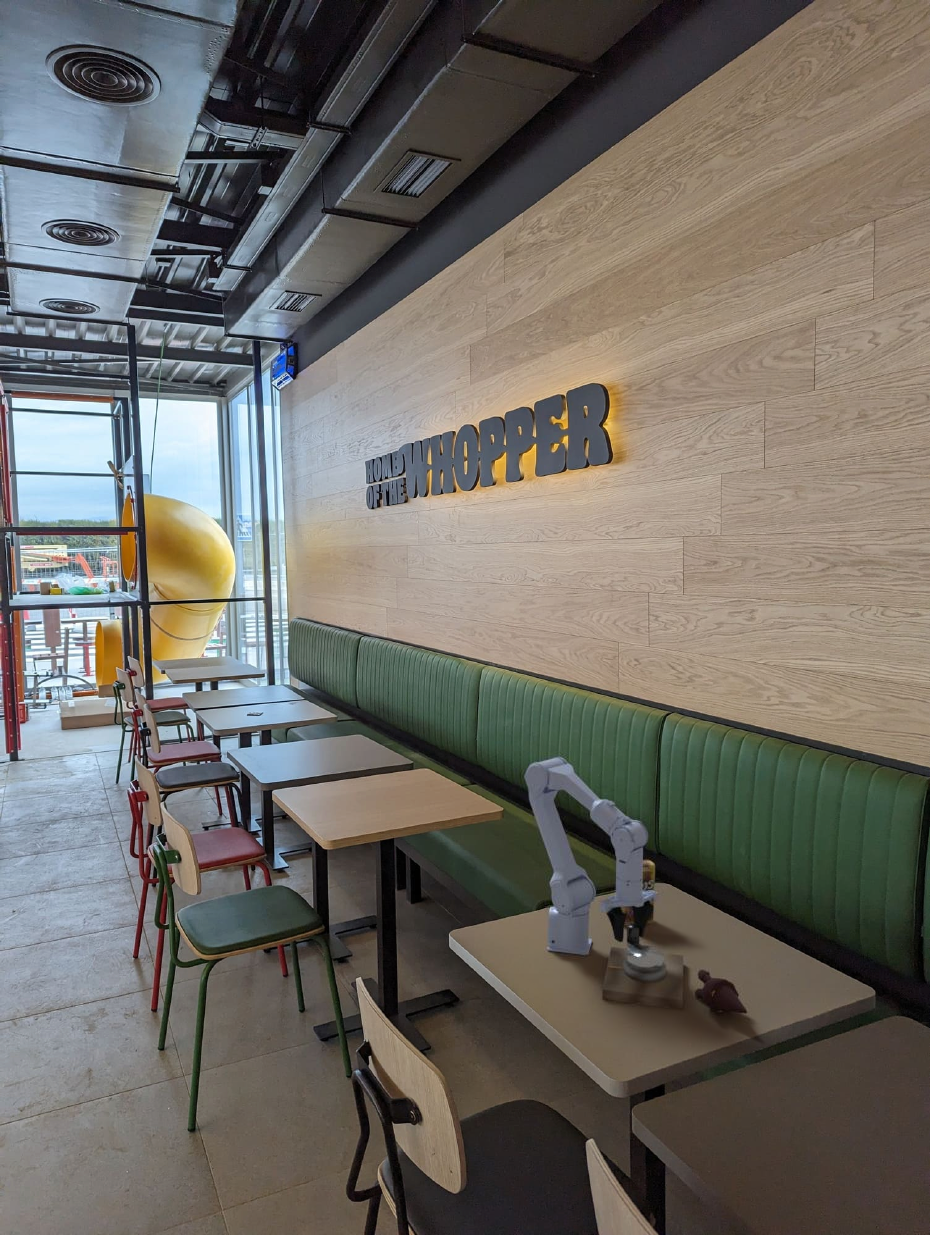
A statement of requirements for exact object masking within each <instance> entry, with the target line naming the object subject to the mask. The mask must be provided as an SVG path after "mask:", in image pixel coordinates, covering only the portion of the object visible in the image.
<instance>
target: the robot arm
mask: <svg viewBox="0 0 930 1235" xmlns="http://www.w3.org/2000/svg"><path fill="white" fill-rule="evenodd" d="M523 778H524V780H525V784H526V785H527V789H528V800H529V804H530V806H531V809H532V813H533V815H534V818H535V820H536V824H537V827H538V829H539V832H540V835H541V839H542V841H543V843H544V846H545V849H546V851H547V856H548V858H549V861H550V864H551V866H552V869H553V874H552V877H551V879H550V881H549V886H550V889H551V901H552V904H553V906H550V908H549V911H548V920H547V951H550V952H555V953H556V952H557V953H567V954H571V955H573V954H574V955H582V956H589V954H590V949H591V947H592V942H593V939H592V938H589V936H590V934H589V931H590V925H589V924H590V908H591V903H592V902H594V901H595V898H596V894H597V893H596V892H597V891H596V888H595V887H596V886H595V885H594V883H593V881H592V880H591V879H590V877H589V876H588V873H587V871H586V869H584V868H583V867H582V866H579V865H578V864H577V863H576V862H577V861H576V860H575V858H574V854H573V852H572V849H571V847H570V843H569V840H568V837H567V834H566V831H565V830H564V826H563V824H562V823H563V822H562V820H561V819H560V818H561V817H560V814H559V812H558V810H557V805H556V804H555V802H554V800H555V799H556V796H557V794H558V792H559V791H565V792H566V793H568V794H569V795H570V796H571V797H572V798H574V799H575V800H577V802H579V803H580V804H581V805H583V806H584V808H586V809H588V811H589V814H590V815H589V816H590V819H591V820H592V821H593V822H594V823H595V824H596V825H597V826H598V827H599V828H600V829H601V830H603V832H605V833H606V834H607V835H608V836H609V837H610V842H611V844H612V846H613V849H614V852H615V856H616V857H615V858H616V864H615V865H616V866H615V869H616V872H615V873H616V874H615V894H614V895H612V896H609V897H607V898H606V899H604V900H600V901H599V911H600V912H602V913H604V914H606V915H607V918H608V920H609V922H610V924H611V928H612V933H613V937H614V940H616V941H617V942H619V943H623V942H624V935H625V934H624V933H625V931H624V930H625V925H624V924H625V920H626V917H627V915H626V914H625V913H623V912H622V910H621V908H623V907H628V906H632V908H633V915H634V924H638V925H639V926H640V938H642V937H643V936H644V933H645V929H646V926H647V924H648V923H647V921H648V919H649V917H650V915H651V913H652V912H653V911H654V912H655V910H654V909H655V908H654V907H655V905H654V906H653V905H652V904H650V901H653V902H654V903H656V902H658V898H659V896H658V895H659V894H658V892H657V891H655V890H654V891H653V890H649V891H642V881H643V860H644V859H643V857H644V846H645V845H646V844H647V843H648V840H649V833H648V830H647V828H646V826H645V824H643V823H642V821H640V820H636V819H631V818H630V817H629V816H627V815H626V814H624V813H623V812H622V811H621V810H620V809H619V808H618V807H617V806H615V805H616V803H615V802H614V801H613V800H609V799H605V798H604V799H601V798H600V797H599V796H598V795H596V794H595V792H594V791H592V790H591V788H590V787H589V786H588V785H587V784H586V783H585V782H584V781H583V780H582V779H581V778H580V777H579V776H578V775H577V774H576V773H575V771H574V767H573V765H571V764H570V763H568V762H567V760H566V759H565V758H563V757H561V756H555V757H553V758H550V759H546V760H542V761H538V762H532V763H530V764H529V765H528V767H527V769H526V772H525V773H524V777H523Z"/></svg>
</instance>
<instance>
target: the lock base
mask: <svg viewBox="0 0 930 1235" xmlns="http://www.w3.org/2000/svg"><path fill="white" fill-rule="evenodd" d="M627 949H628V948H624V947H618V946H617V947H614V946H611V947H610V952H609V956H608V959H607V966H606V970H605V975H604V979H603V984H602V989H601V990H602V994H601V995H602V996H601V997H602V998H601V999H602V1000H608V1001H616V1002H623V1003H630V1004H636V1003H639V1004H638V1005H645V1006H651V1007H658V1006H659V1008H667V1009H673V1010H680V1011H682V1010H683V1001H684V999H683V994H684V993H683V992H684V955H682V954H673V953H665V952H663V954H664V967H663V969H662V970H660V971H658V972H653V973H645V972H639V971H636V970H633V969H631V968H630V967H628V966H627V964H626V950H627Z"/></svg>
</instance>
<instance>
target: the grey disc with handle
mask: <svg viewBox="0 0 930 1235" xmlns="http://www.w3.org/2000/svg"><path fill="white" fill-rule="evenodd" d="M640 940H641V937H640V926H639V925H638V924H634V923H630V924H627V925H626V946H627V947H628V948H626V949H627V950H626V964H627V966H628V967H630V968H631V969H633V970H636V971H639V972H645V973H653V972H658V971H660V970H662V969H663V967H664V954H663V953H664V952H663V951H662V950H660V949H659V948H656V947H654V946H650V945H642V944H641V943H640Z"/></svg>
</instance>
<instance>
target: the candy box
mask: <svg viewBox="0 0 930 1235" xmlns="http://www.w3.org/2000/svg"><path fill="white" fill-rule="evenodd" d="M655 879H656V865H655V863H654V862H653V861H651V860H650V859H643V881H642V891H649V890H653V891H655V882H656V880H655ZM650 904H652V905H653V906H654V907H655V902H653V901H650ZM621 910H622V912H623V913H625V914H626V915H627V917H626V920H625V924H624V926H627V924H630V923H634V915H633V908H632V906H628V907H623V908H621ZM654 912H655V910H654V911H653V912H652V913H651V915H650V917H649V919H648V921H647V924H654Z"/></svg>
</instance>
